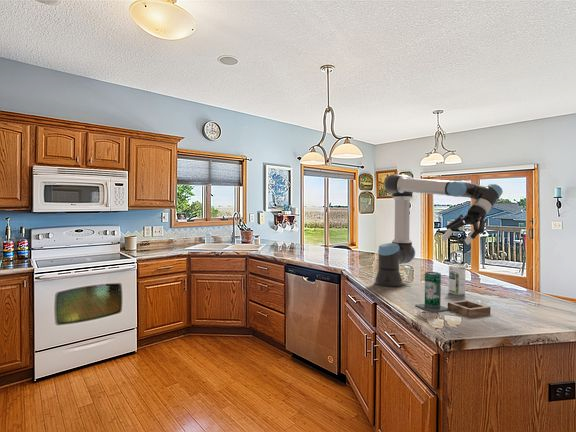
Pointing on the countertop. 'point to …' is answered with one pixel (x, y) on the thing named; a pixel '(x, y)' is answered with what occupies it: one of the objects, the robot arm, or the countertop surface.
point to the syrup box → (456, 279)
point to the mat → (432, 309)
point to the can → (432, 290)
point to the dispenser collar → (469, 308)
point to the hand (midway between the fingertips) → (454, 241)
